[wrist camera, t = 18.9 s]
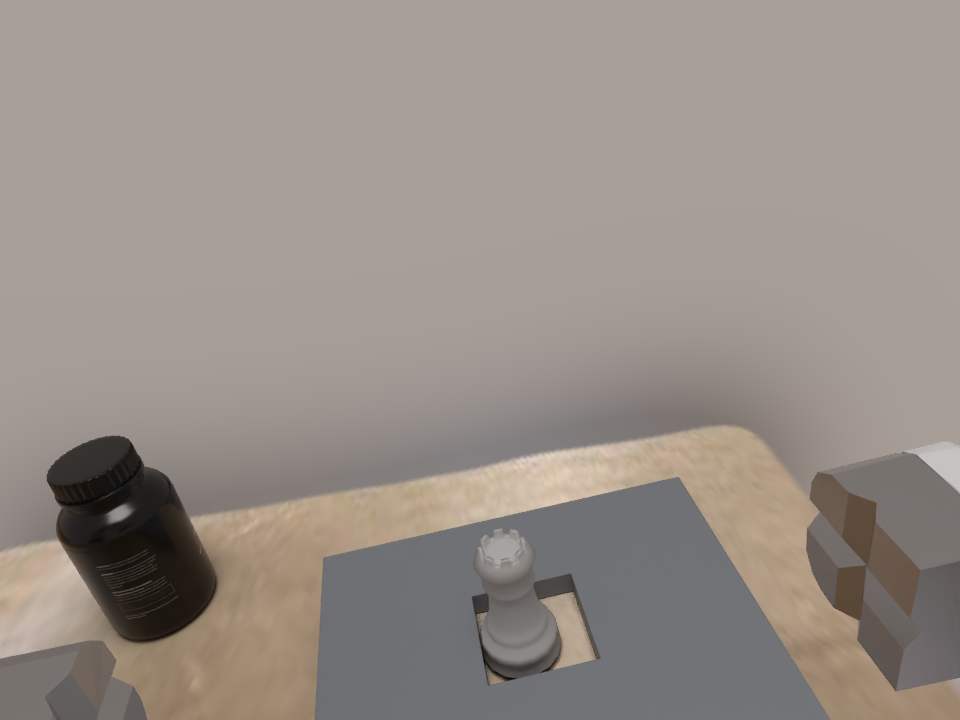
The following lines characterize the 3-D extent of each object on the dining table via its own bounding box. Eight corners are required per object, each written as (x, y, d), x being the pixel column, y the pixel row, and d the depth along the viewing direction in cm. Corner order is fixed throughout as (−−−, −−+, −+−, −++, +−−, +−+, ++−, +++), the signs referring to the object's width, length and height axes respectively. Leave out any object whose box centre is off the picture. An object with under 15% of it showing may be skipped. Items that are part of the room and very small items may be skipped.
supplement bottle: (236, 563, 50) (172, 423, 44) (183, 648, 44) (101, 500, 38) (152, 559, 52) (79, 424, 46) (90, 640, 46) (-2, 498, 40)
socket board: (317, 871, 32) (307, 854, 31) (329, 574, 48) (323, 557, 47) (829, 742, 33) (832, 723, 33) (679, 493, 49) (678, 476, 48)
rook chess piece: (522, 603, 43) (503, 502, 39) (579, 644, 40) (564, 539, 36) (467, 652, 41) (440, 550, 37) (522, 700, 38) (499, 594, 34)
